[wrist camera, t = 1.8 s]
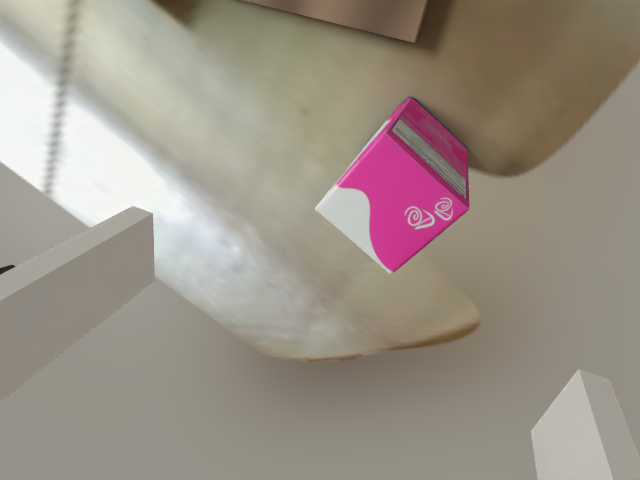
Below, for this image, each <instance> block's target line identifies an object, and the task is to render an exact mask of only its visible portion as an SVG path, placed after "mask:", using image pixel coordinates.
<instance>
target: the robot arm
mask: <svg viewBox="0 0 640 480" xmlns="http://www.w3.org/2000/svg"><path fill="white" fill-rule="evenodd" d="M154 279H155V275H154V236H153V213H150V212H148V211H145V210H142V209H139V208H137V207H134V206H132V207H130V208H128V209H126V210H125V211H123V212H121V213H119V214H117V215H115V216H113V217H111V218H109V219H107V220H105V221H103V222H101V223H99V224H97V225H95V226H94V227H92V228H90V229H88V230H86V231H84V232H82V233H80V234H78V235H76V236H74V237H72V238H70V239H68V240H67V241H65V242H63V243H61V244H59V245H57V246H55V247H53V248H51V249H49V250H47V251H45V252H43V253H41V254H39V255H37V256H36V257H34V258H32V259H30V260H28V261H26V262H24V263H22V264H20V265H18V266H14V265H9V266H6V267H3V268H0V402H1V401H2V400H3V399H5V398H6V397H7V396H9V395H10V394H11V393H12V392H14V391H15V390H16V389H17V388H19V387H20V386H21V385H23V384H24V383H25V382H26V381H27V380H29V379H30V378H31V377H33V376H34V375H35V374H36V373H38V372H39V371H40V370H42V369H43V368H44V367H45V366H47V365H48V364H49V363H50V362H52V361H53V360H54V359H56V358H57V357H58V356H59V355H61V354H62V353H63V352H64V351H66V350H67V349H68V348H70V347H71V346H72V345H73V344H75V343H76V342H77V341H79V340H80V339H81V338H82V337H84V336H85V335H86V334H87V333H89V332H90V331H91V330H92V329H94V328H95V327H96V326H97V325H99V324H100V323H101V322H103V321H104V320H105V319H106V318H108V317H109V316H110V315H112V314H113V313H114V312H115V311H117V310H118V309H119V308H120V307H122V306H123V305H124V304H126V303H127V302H128V301H129V300H131V299H132V298H133V297H134V296H136V295H137V294H138V293H140V292H141V291H142V290H143V289H145V288H146V287H147V286H148V285H149V284H151V283H152V282H153V281H154ZM531 436H532V444H533V451H534V458H535V464H536V470H537V478H538V480H640V456H639V454H638V451H637V448H636V446H635V443H634V441H633V438H632V436H631V433H630V431H629V428H628V425H627V423H626V420H625V418H624V415H623V413H622V410H621V407H620V405H619V402H618V400H617V397H616V395H615V392H614V390H613V387H612V384H611V382H610V380H609V379H606V378H603V377H600V376H598V375H595V374H592V373H589V372H587V371H584V370H581V369H578V370H577V372H576V373H575V374H574V375H573V377H572V378H571V380H570V381H569V382H568V383H567V385H566V386H565V387H564V389H563V390H562V391H561V392H560V394H559V395H558V397H557V398H556V399H555V400H554V402H553V403H552V405H551V406H550V407H549V408H548V409H547V411H546V412H545V413H544V415H543V416H542V417H541V419H540V420H539V421H538V422H537V424H536V425H535V426H534V428H533V429H532V430H531Z"/></svg>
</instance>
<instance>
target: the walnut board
mask: <svg viewBox="0 0 640 480" xmlns="http://www.w3.org/2000/svg"><path fill="white" fill-rule="evenodd" d="M243 1H248V2H252V3H256V4H260V5H264V6H268V7H272V8H276V9H280V10H284V11H288V12H292V13H296V14H300V15H304V16H308V17H312V18H316V19H320V20H324V21H328V22H332V23H336V24H340V25H344V26H348V27H352V28H357V29H361V30H365V31H369V32H373V33H377V34H381V35H385V36H389V37H393V38H397V39H401V40H405V41H409V42H413V43H415V42H417V40H418V36H419V33H420V30H421V26H422V23H423V19H424V16H425V13H426V9H427V6H428V2H429V0H243Z"/></svg>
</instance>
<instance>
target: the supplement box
mask: <svg viewBox="0 0 640 480" xmlns="http://www.w3.org/2000/svg"><path fill="white" fill-rule="evenodd" d="M468 185H469V183H468V156H467V148H466V147H465V146H464V145H463V144H462V143H461V142H460V141H459V140H458V139H457V138H456V137H455V136H454V135H453V134H452V133H451V132H450V131H449V130H447V129H446V128H445V127H444V126H443V125H442V124H441V123H440V122H439V121H438V120H437V119H436V118H435V117H434V116H433V115H432V114H431V113H429V112H428V111H427V110H426V109H425V108H424V107H423V106H422V105H421V104H420V103H419V102H418V101H416V100H415V99H414V98H413V97H411V96H410V97H408V98H407V99H406V100H405V101H404V102H403V103H402V104H401V105H400V106H399V107H398V108H397V110H396V111H395V112H394V113H393V114H392V115H391V116H390V117H389V118H388V120H387V121H386V122H385V123H384V124H383V125H382V126H381V127H380V128H379V130H378V131H377V132H376V133H375V134H374V135H373V137H372V138H371V139H370V140H369V142H368V143H367V144H366V145H365V146H364V148H363V149H362V150H361V151H360V153H359V154H358V156H357V157H356V158H355V159H354V161H353V162H352V163H351V164H350V166H349V167H348V168H347V170H346V171H345V172H344V173H343V174H342V176H341V177H340V178H339V179H338V181H337V182H336V183H335V184H334V185H333V187H332V188H331V189H330V190H329V192H328V193H327V194H326V195H325V197H324V198H323V199H322V200H321V201H320V203H319V204H318V205H317V206H316V211H317V212H319V213H320V214H321V215H322V216H324V217H325V218H326V219H327V220H328V221H330V222H331V223H332V224H333V225H334V226H336V227H337V228H338V229H339V230H340V231H341V232H343V233H344V234H345V235H346V236H347V237H348V238H350V239H351V240H352V241H353V242H354V243H355V244H356V245H358V246H359V247H360V248H361V249H362V250H363V251H364V252H365V253H367V254H368V255H369V256H370V257H371V258H372V259H373V260H374V261H376V262H377V263H378V264H379V265H380V266H381V267H382V268H384V269H385V270H386V271H387V272H388V273H389V274H392V273H394V272H395V271H396V270H397V269H399V268H400V267H401V266H402V265H404V264H405V263H406V262H407V261H408V260H410V259H411V258H412V257H413V256H414V255H416V254H417V253H418V252H419V251H420V250H422V249H423V248H424V247H425V246H426V245H427V244H429V243H430V242H431V241H432V240H433V239H435V238H436V237H437V236H438V235H439V234H441V233H442V232H443V231H444V230H445V229H446V228H448V227H449V226H450V225H451V224H452V223H454V222H455V221H456V220H457V219H458V218H459V217H461V216H462V215H463V214H465V213H466V212H467V211H468V210H469V187H468Z"/></svg>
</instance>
